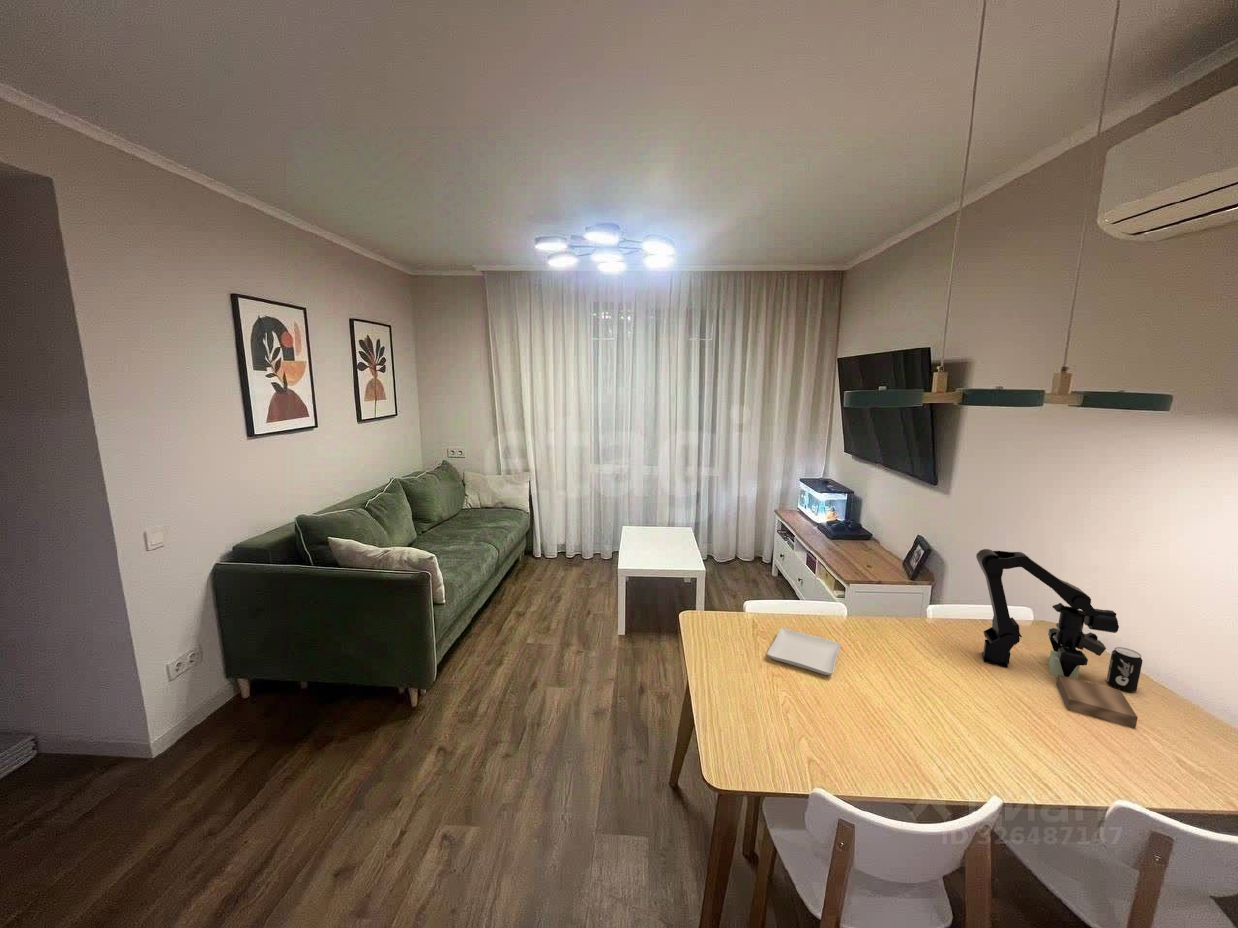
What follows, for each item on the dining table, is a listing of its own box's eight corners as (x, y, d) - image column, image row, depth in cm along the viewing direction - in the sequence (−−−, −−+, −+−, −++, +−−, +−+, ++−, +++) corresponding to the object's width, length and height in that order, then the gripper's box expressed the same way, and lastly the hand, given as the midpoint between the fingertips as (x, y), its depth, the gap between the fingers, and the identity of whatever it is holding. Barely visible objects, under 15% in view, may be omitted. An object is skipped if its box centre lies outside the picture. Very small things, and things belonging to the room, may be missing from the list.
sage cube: (1052, 675, 154) (1054, 658, 153) (1048, 666, 159) (1050, 650, 158) (1076, 681, 151) (1080, 664, 150) (1072, 672, 156) (1075, 655, 155)
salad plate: (832, 682, 150) (833, 672, 150) (765, 662, 161) (766, 653, 161) (840, 651, 168) (841, 642, 168) (780, 634, 179) (780, 626, 179)
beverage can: (1142, 694, 144) (1149, 658, 142) (1117, 691, 145) (1124, 656, 143) (1124, 681, 150) (1131, 647, 148) (1100, 678, 152) (1106, 644, 150)
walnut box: (1066, 711, 137) (1069, 698, 137) (1056, 685, 149) (1058, 674, 148) (1135, 730, 130) (1137, 717, 129) (1118, 702, 141) (1120, 690, 141)
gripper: (1114, 646, 140) (1105, 693, 142) (1096, 620, 155) (1088, 663, 158) (1064, 635, 146) (1056, 680, 148) (1051, 611, 161) (1044, 653, 164)
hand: (1062, 669), depth 154 cm, fingers open, 9 cm apart
